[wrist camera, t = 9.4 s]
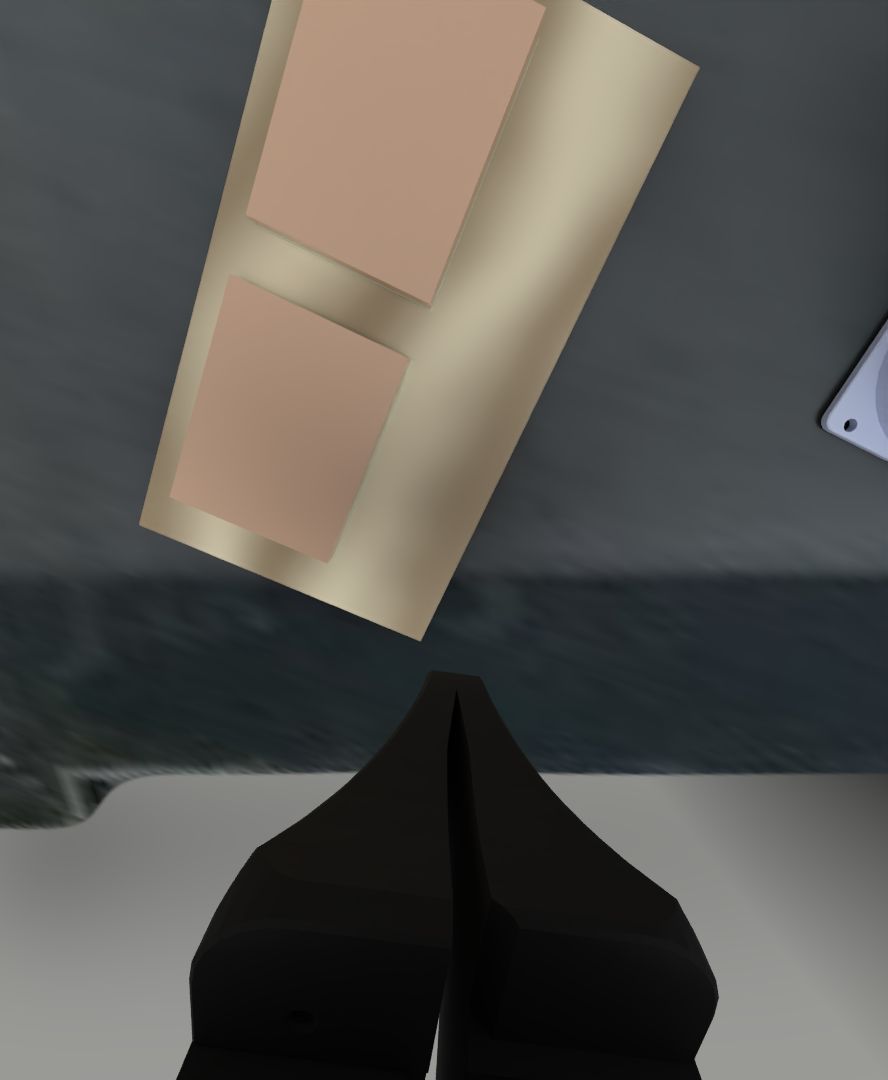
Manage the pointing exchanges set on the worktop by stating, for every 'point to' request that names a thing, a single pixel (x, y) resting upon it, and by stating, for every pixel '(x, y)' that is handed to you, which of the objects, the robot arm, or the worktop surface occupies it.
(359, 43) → the tile
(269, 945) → the robot arm
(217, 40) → the worktop surface
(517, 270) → the board
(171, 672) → the worktop surface
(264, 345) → the tile
